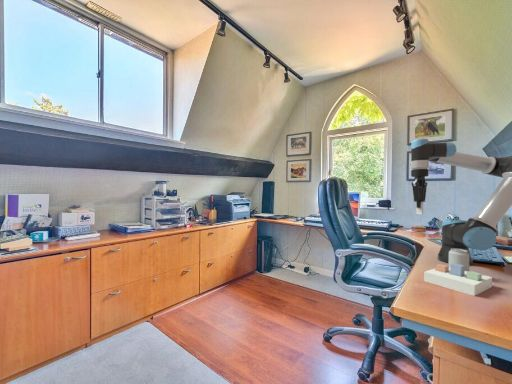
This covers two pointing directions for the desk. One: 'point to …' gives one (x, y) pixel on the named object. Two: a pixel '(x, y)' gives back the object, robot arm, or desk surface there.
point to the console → (458, 282)
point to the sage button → (474, 276)
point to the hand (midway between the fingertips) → (419, 214)
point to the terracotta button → (442, 268)
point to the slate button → (457, 269)
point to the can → (459, 257)
